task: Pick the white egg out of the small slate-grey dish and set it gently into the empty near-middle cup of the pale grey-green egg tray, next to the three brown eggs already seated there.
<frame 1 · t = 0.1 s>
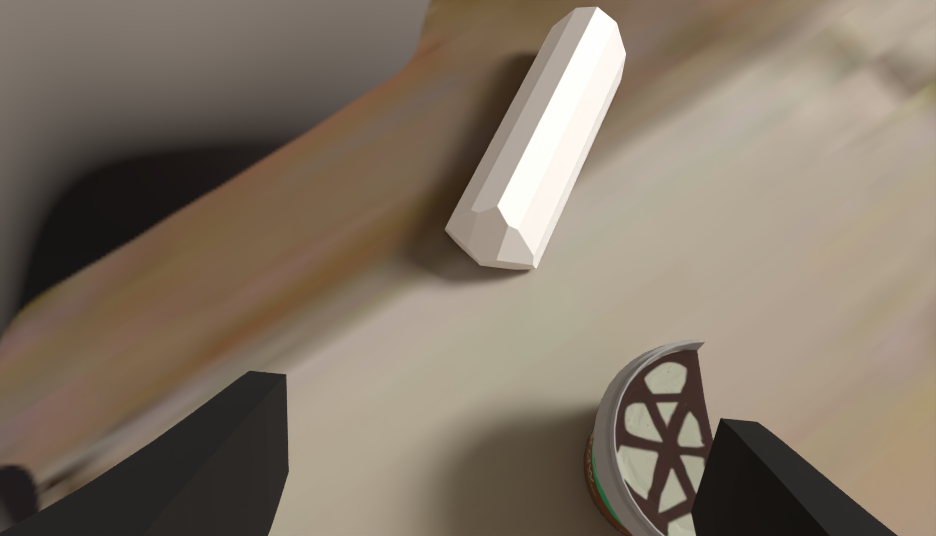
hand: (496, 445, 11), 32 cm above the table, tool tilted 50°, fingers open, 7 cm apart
white trapezoid ingot: (536, 157, 52), on the table
food container: (611, 469, 42), on the table
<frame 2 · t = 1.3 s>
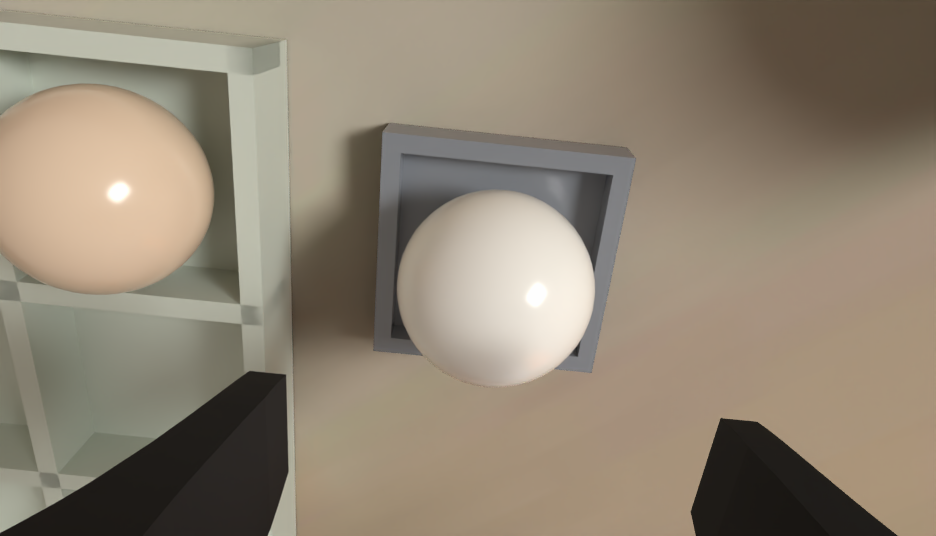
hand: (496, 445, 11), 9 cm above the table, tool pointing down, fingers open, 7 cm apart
brown egg b: (153, 164, 18), point 1 cm above the table, touching egg tray
dish: (494, 245, 19), on the table
white egg: (494, 250, 18), resting on dish
egg tray: (83, 346, 21), on the table
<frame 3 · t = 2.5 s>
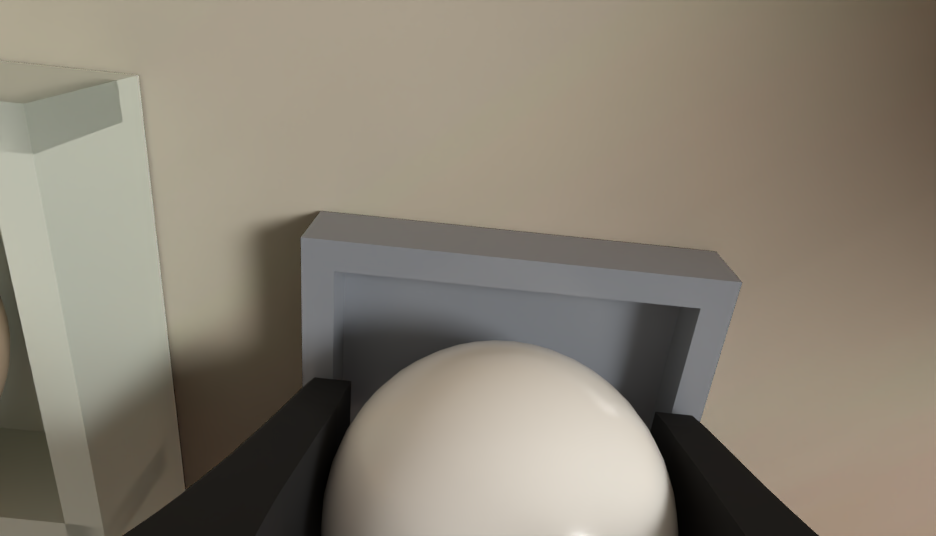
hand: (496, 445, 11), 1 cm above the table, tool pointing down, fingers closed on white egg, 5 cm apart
dish: (496, 395, 12), on the table
white egg: (496, 408, 11), resting on dish, touching gripper
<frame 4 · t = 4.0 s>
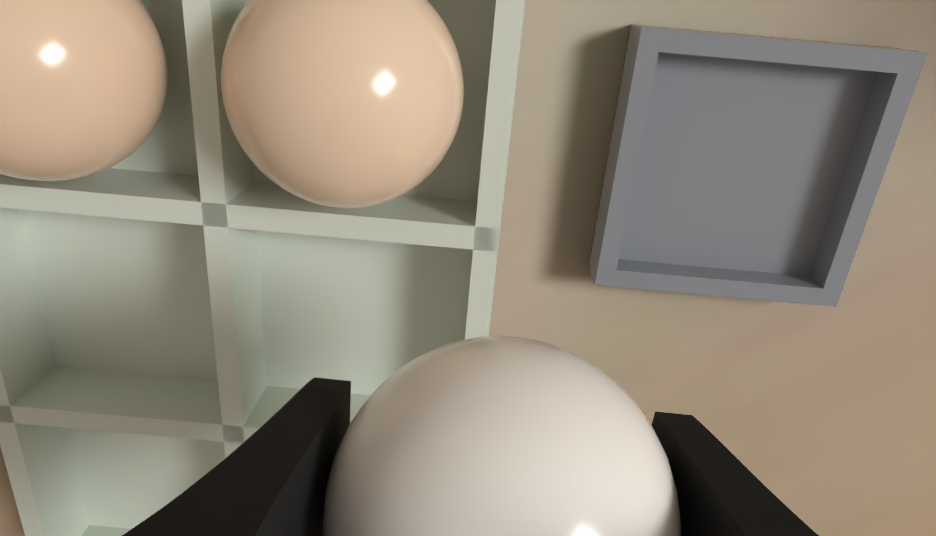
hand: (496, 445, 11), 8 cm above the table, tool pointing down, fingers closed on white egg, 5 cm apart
brown egg b: (367, 75, 16), point 1 cm above the table, touching egg tray
dish: (730, 166, 17), on the table
brown egg c: (103, 51, 16), point 1 cm above the table, touching egg tray
white egg: (498, 405, 11), point 7 cm above the table, touching gripper
egg tray: (258, 290, 19), on the table
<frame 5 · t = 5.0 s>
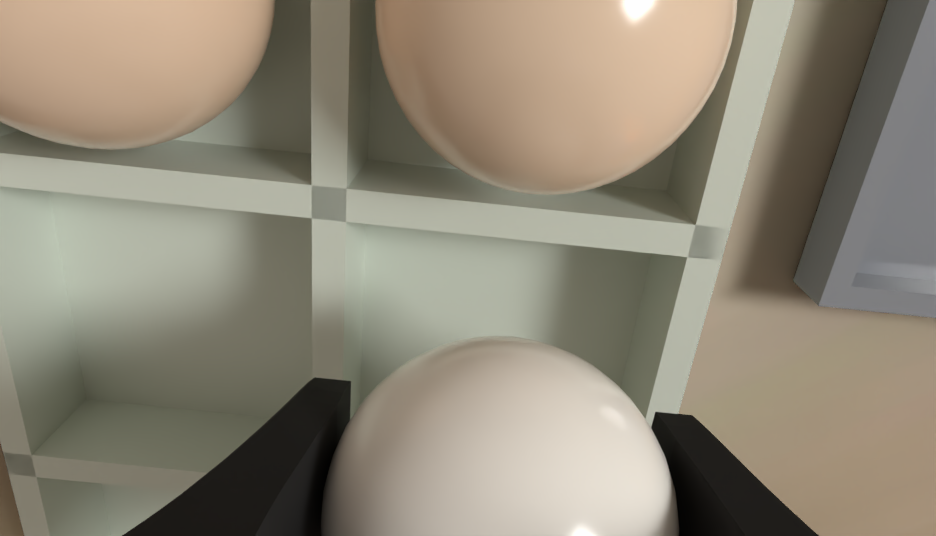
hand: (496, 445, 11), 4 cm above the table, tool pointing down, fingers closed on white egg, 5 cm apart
brown egg b: (538, 14, 11), point 1 cm above the table, touching egg tray
white egg: (496, 404, 11), point 3 cm above the table, touching gripper
egg tray: (354, 304, 15), on the table
when the fingers open (3 cm above the table, at t = 5.7 s): white egg drops 2 cm, resting on egg tray.
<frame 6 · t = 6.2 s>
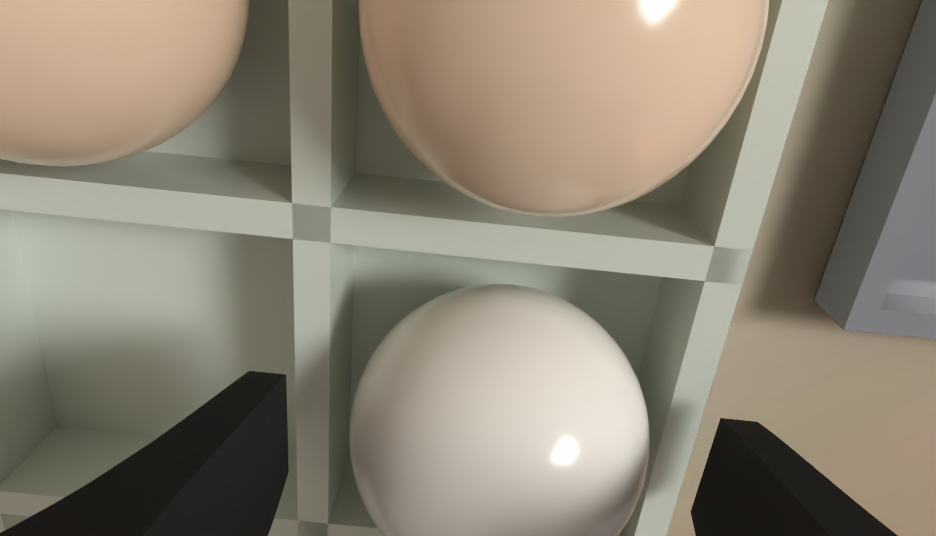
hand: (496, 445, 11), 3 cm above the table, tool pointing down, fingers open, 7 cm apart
brown egg b: (541, 14, 10), point 1 cm above the table, touching egg tray
white egg: (496, 352, 13), point 1 cm above the table, touching egg tray
egg tray: (343, 325, 14), on the table
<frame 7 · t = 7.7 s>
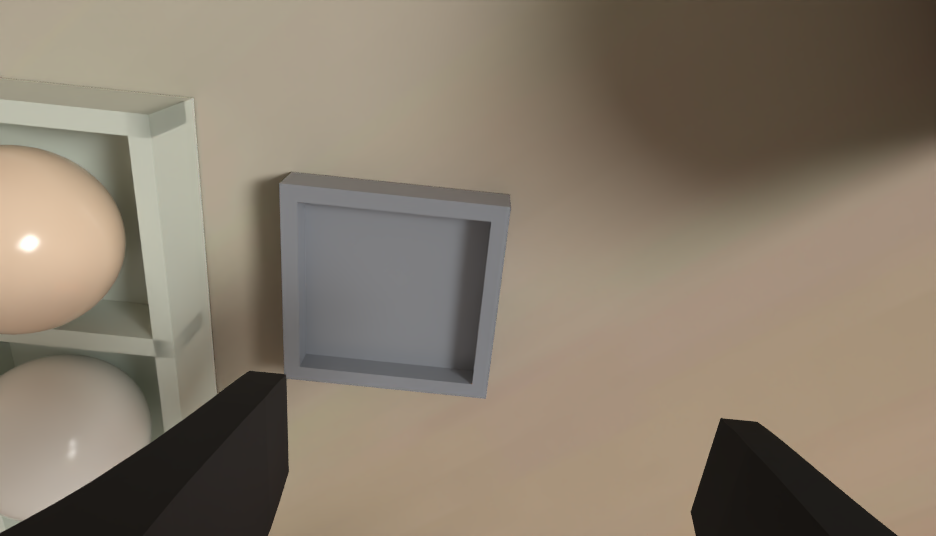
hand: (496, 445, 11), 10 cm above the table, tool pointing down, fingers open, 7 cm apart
brown egg b: (75, 209, 19), point 1 cm above the table, touching egg tray
dish: (395, 281, 20), on the table
white egg: (105, 389, 22), point 1 cm above the table, touching egg tray
egg tray: (21, 371, 22), on the table
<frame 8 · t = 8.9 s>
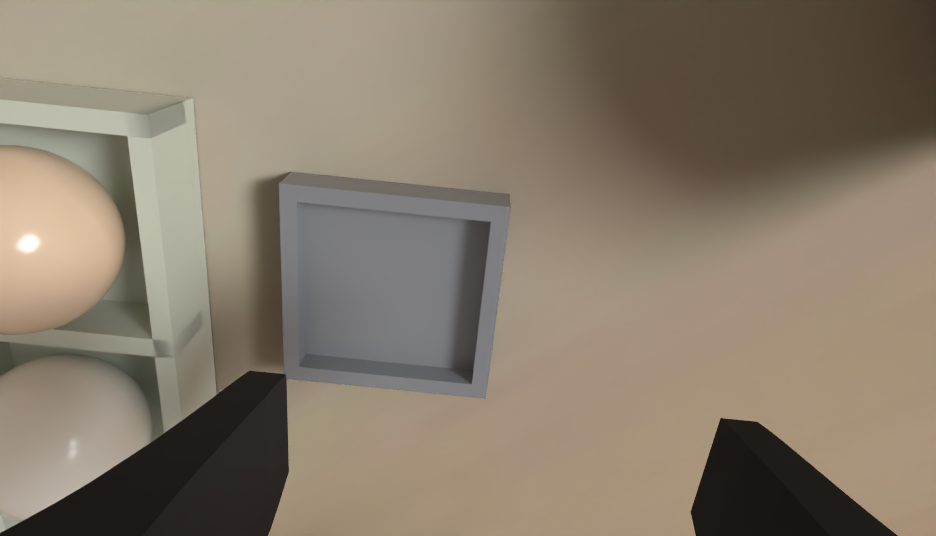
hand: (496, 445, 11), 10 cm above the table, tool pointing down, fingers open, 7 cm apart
brown egg b: (75, 210, 19), point 1 cm above the table, touching egg tray
dish: (395, 281, 20), on the table
white egg: (105, 389, 22), point 1 cm above the table, touching egg tray
egg tray: (21, 371, 22), on the table
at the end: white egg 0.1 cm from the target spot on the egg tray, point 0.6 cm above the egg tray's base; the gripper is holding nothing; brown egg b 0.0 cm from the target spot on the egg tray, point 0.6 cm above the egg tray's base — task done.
